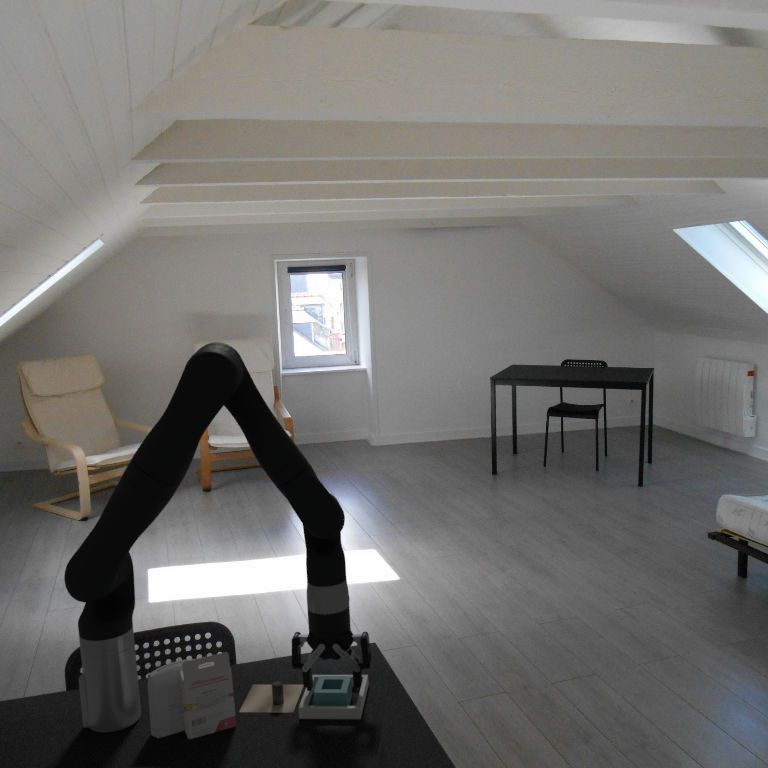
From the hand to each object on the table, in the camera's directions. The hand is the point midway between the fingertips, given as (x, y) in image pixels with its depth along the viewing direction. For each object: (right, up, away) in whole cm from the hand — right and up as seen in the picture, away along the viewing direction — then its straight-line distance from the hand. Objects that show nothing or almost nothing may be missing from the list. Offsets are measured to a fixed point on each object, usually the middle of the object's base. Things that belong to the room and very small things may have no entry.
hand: (333, 688), depth 145 cm
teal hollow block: (0, -3, 0) cm, 3 cm away
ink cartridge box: (-21, -6, -5) cm, 23 cm away
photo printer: (-27, -6, -4) cm, 28 cm away
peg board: (-12, -4, +4) cm, 13 cm away
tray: (0, -4, +1) cm, 4 cm away
